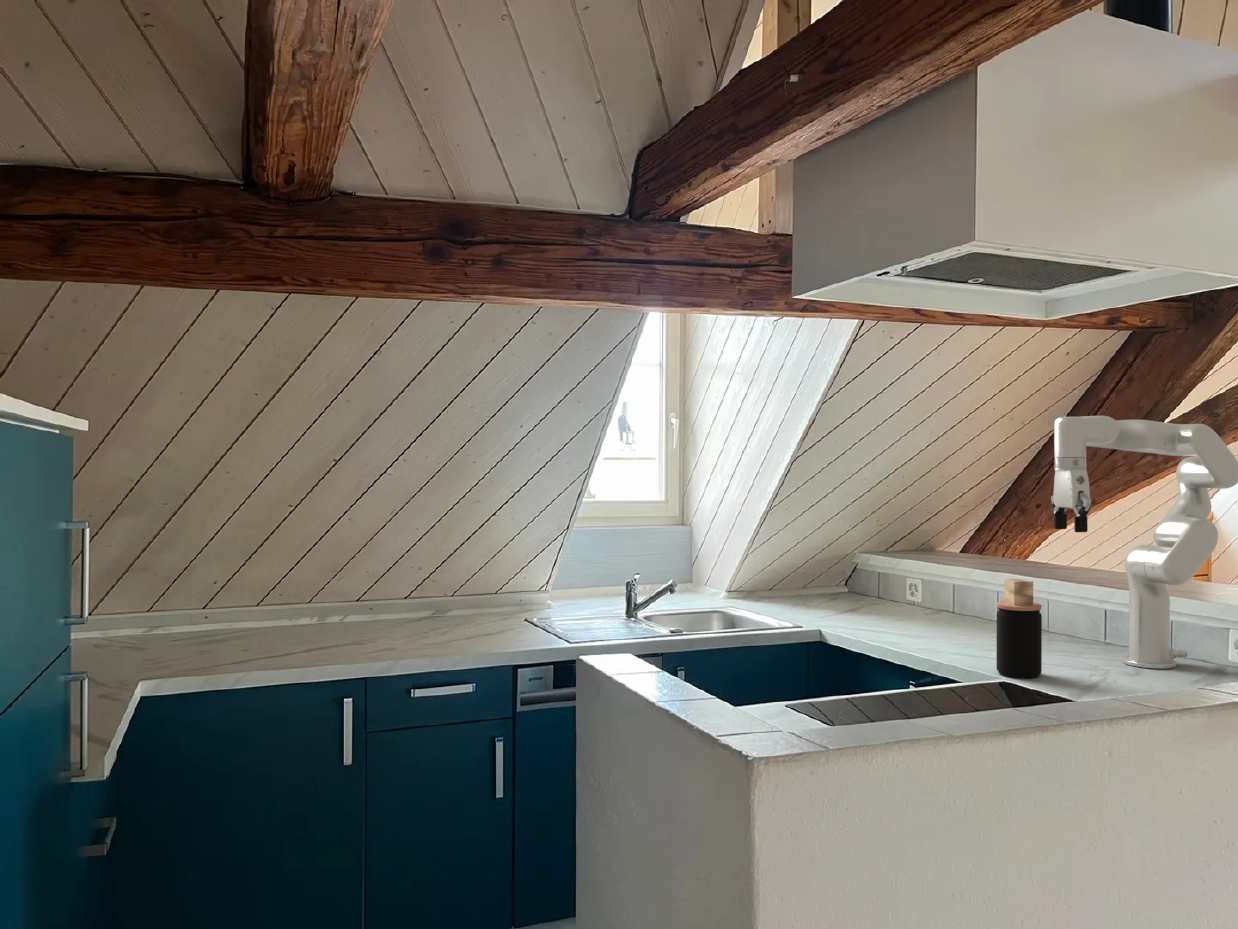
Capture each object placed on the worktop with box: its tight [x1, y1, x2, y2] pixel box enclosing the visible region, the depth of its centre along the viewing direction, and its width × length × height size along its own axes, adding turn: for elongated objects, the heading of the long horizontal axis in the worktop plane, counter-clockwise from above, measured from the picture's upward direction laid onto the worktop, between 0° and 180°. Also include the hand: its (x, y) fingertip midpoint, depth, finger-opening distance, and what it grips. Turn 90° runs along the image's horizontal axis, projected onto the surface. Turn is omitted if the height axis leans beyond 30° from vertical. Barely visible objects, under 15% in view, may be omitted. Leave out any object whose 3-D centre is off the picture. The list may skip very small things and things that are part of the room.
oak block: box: [1004, 578, 1034, 606], centre depth 253 cm, size 5×5×6 cm
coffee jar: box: [996, 600, 1043, 680], centre depth 253 cm, size 11×11×18 cm
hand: (1070, 530), depth 258 cm, fingers open, 9 cm apart
